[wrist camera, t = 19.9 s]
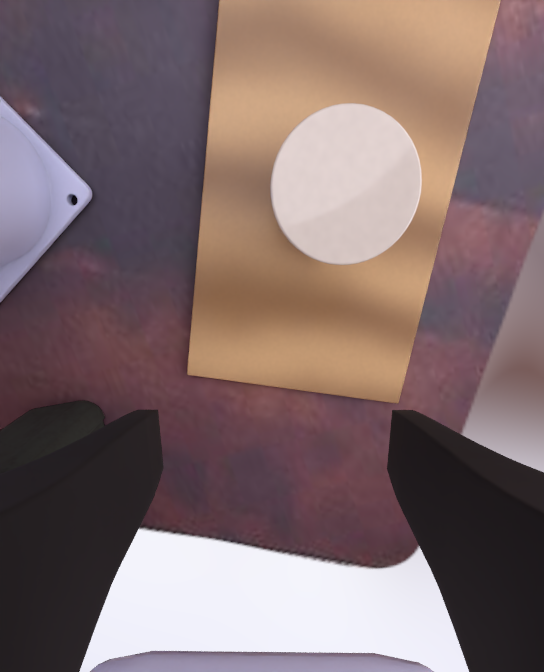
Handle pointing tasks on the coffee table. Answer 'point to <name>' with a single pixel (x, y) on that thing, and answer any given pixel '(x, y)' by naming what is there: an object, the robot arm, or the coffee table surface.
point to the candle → (46, 431)
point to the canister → (345, 184)
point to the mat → (255, 177)
